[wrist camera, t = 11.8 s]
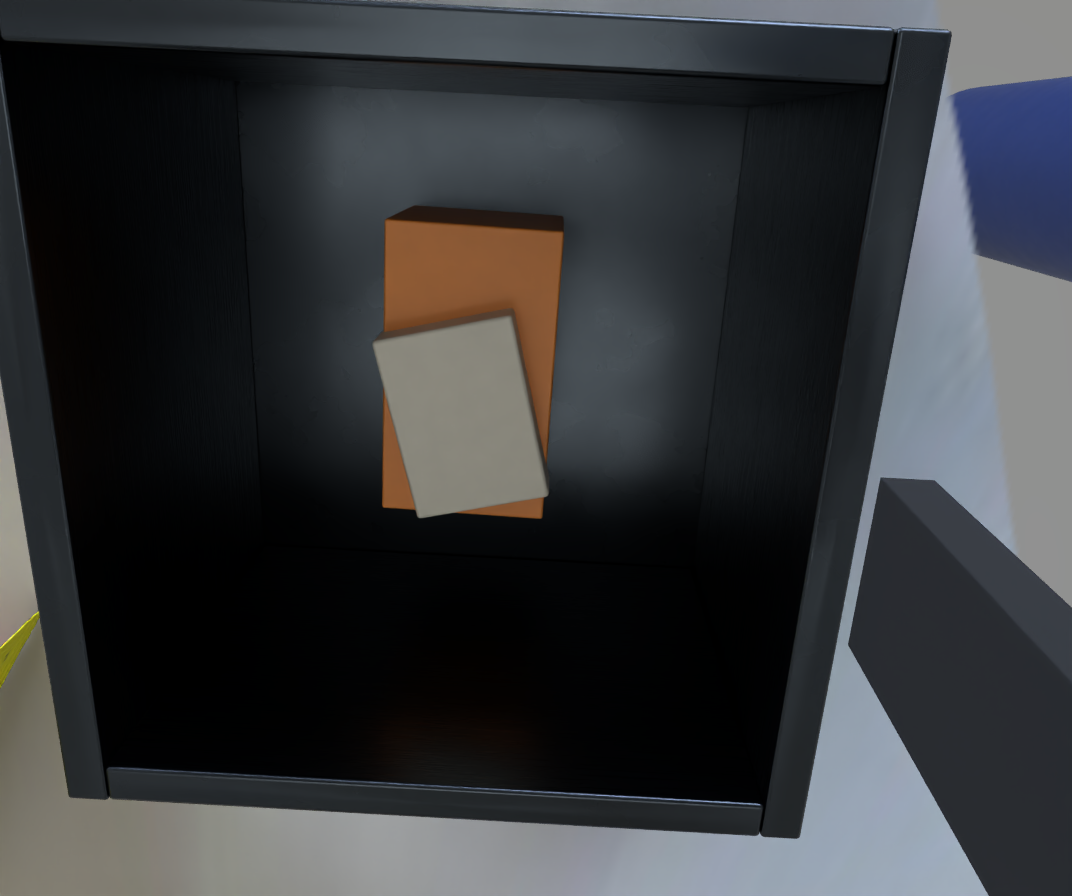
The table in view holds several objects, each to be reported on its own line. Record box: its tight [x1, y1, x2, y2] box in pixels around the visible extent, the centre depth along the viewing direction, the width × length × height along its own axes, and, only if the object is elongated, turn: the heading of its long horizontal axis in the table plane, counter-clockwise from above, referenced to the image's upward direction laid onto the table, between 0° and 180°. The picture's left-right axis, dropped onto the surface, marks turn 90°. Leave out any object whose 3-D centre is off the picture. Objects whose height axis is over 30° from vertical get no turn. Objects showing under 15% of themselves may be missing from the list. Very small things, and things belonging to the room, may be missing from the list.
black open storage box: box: [0, 0, 952, 839], centre depth 20 cm, size 15×15×11 cm
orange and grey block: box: [372, 205, 564, 519], centre depth 22 cm, size 4×7×5 cm, turn 176°
